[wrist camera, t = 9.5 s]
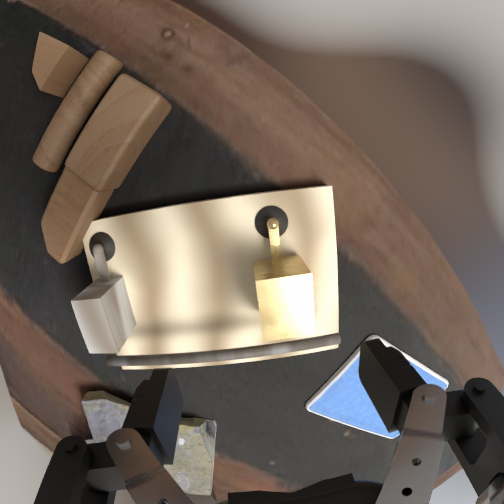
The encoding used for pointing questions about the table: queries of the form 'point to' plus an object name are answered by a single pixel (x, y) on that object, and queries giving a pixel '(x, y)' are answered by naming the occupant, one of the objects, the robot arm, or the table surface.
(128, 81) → the wooden block set
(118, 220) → the cream panel
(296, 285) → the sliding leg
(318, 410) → the tablet computer
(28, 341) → the table surface
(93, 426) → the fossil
